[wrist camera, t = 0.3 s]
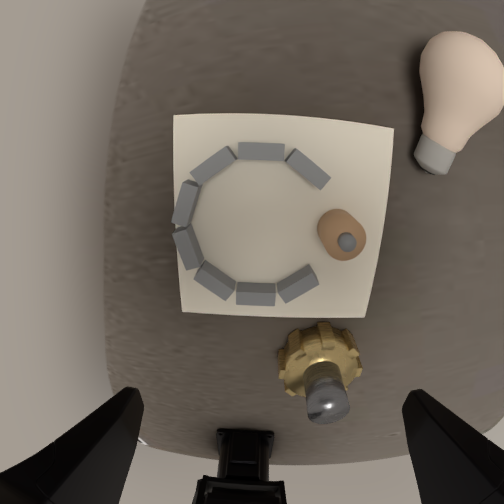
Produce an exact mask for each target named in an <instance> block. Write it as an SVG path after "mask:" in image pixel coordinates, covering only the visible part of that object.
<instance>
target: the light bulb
mask: <svg viewBox="0 0 504 504" xmlns="http://www.w3.org/2000/svg"><path fill="white" fill-rule="evenodd" d="M419 73H420V78H421V84H422V90H423V98H424V116H423V120H422V124H421V128H422V131H423V134H422V135H421V137H420V140H419V142H418V145H417V147H416V149H415V152H414V157H415V158H416V160H417V161H418V163H419V165H420V167H421V168H422V169H423V170H424V171H425V172H426V173H430V174H432V175H435V174H447V172H448V170H449V168H450V166H451V164H452V162H453V160H454V157H455V155H456V152H458V151H461V150H462V149H463V147H464V146H465V144H466V142H467V141H468V139H469V137H471V136H472V135H473V134H474V133H475V132H476V131H478V130H479V129H480V128H481V127H482V126H484V125H485V124H487V123H488V122H489V121H491V120H492V119H493V118H495V117H496V116H497V115H498V114H499V113H500V111H501V109H502V108H503V106H504V67H503V65H502V63H501V61H500V60H499V58H498V56H497V54H496V53H495V52H494V51H493V50H492V49H491V48H490V47H489V46H488V45H487V44H486V43H485V42H484V41H483V40H481V39H479V38H477V37H475V36H472V35H470V34H468V33H465V32H460V31H446V32H441V33H440V34H438V35H436V36H434V37H432V38H431V39H430V40H429V42H428V43H427V45H426V47H425V48H424V50H423V51H422V54H421V59H420V69H419Z"/></svg>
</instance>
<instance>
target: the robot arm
mask: <svg viewBox="0 0 504 504" xmlns="http://www.w3.org/2000/svg"><path fill="white" fill-rule="evenodd" d="M143 411H144V404H143V401H142V398H141V395H140V392H139V390H138V389H137V388H133V387H125V388H123V389H122V390H121V391H120V392H118V393H117V394H116V395H114V396H113V397H112V398H110V399H109V400H108V401H107V402H105V403H104V404H103V405H101V406H100V407H99V408H98V409H96V410H95V411H94V412H92V413H91V414H90V415H88V416H87V417H86V418H85V419H83V420H82V421H80V422H79V423H78V424H76V425H75V426H74V427H72V428H71V429H70V430H68V431H67V432H66V433H64V434H63V435H62V436H60V437H59V438H57V439H56V440H55V441H54V442H52V443H50V444H49V445H48V446H46V447H45V448H43V449H42V450H41V451H39V452H38V453H36V454H35V455H33V456H31V457H29V458H28V459H26V460H24V461H22V462H20V463H18V464H17V465H15V466H13V467H11V468H9V469H7V470H5V471H3V472H1V473H0V504H119V500H120V497H121V494H122V491H123V487H124V484H125V481H126V477H127V474H128V471H129V468H130V465H131V462H132V459H133V456H134V453H135V449H136V446H137V441H138V436H139V431H140V426H141V421H142V416H143ZM402 414H403V419H404V425H405V431H406V438H407V444H408V449H409V453H410V456H411V460H412V464H413V468H414V472H415V476H416V480H417V485H418V489H419V493H420V498H421V503H422V504H504V450H503V449H501V448H500V447H498V446H497V445H496V444H494V443H493V442H492V441H490V440H488V439H487V438H486V437H485V436H483V435H482V434H481V433H479V432H478V431H477V430H475V429H474V428H473V427H471V426H470V425H469V424H467V423H466V422H465V421H463V420H462V419H461V418H459V417H458V416H457V415H455V414H454V413H453V412H452V411H450V410H449V409H448V408H446V407H445V406H444V405H442V404H441V403H440V402H438V401H437V400H436V399H434V398H433V397H432V396H430V395H429V394H428V393H426V392H425V391H424V390H422V389H417V390H412V391H410V393H409V394H408V396H407V398H406V400H405V402H404V404H403V407H402ZM216 435H217V444H218V452H219V464H218V472H217V477H209V476H206V475H203V479H200V480H198V482H197V488H196V492H195V496H194V499H193V502H192V504H287V502H286V494H285V486H284V481H269V458H271V452H272V446H273V441H274V433H273V432H257V431H237V430H223V429H219V430H217V433H216Z"/></svg>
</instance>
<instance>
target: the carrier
mask: <svg viewBox="0 0 504 504" xmlns="http://www.w3.org/2000/svg"><path fill="white" fill-rule="evenodd" d="M393 134H394V129H392V128H387V127H381V126H376V125H370V124H363V123H357V122H350V121H342V120H334V119H325V118H315V117H304V116H291V115H274V114H243V113H218V114H187V115H174V123H173V170H174V206H175V210H174V213H173V217H172V221H171V223H174V224H175V227H176V230H175V231H174V232H173V233H172V236H173V239H174V241H175V244H176V246H177V259H178V272H179V284H180V295H181V305H182V312H193V313H207V314H223V315H241V316H264V317H301V318H362V317H365V314H366V310H367V306H368V302H369V298H370V293H371V289H372V284H373V280H374V275H375V270H376V265H377V260H378V255H379V250H380V244H381V239H382V233H383V227H384V220H385V213H386V206H387V199H388V191H389V182H390V172H391V162H392V149H393Z"/></svg>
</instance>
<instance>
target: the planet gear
mask: <svg viewBox="0 0 504 504" xmlns="http://www.w3.org/2000/svg"><path fill="white" fill-rule="evenodd" d="M288 339H289V341H288V343H287V344H286V346H285V348H284V349H279V351H278V373H279V379H284V385H285V392H287V393H288V394H290V395H291V396H294V395H296V394H297V395H300V396H303V397H306V403H307V411H308V417H309V419H310V420H311V421H312V422H315V423H318V424H328V423H333V422H336V421H338V420H340V419H342V418H343V417H345V416H346V415H347V414H348V412H349V410H350V405H349V402H348V398H347V394H346V390H348V387H347V386H348V385H349V384H350V383H351V382H352V380H353V379H354V377H360V374H361V372H362V369H363V368H362V365H361V362H360V359H359V357H358V356H359V355H360V353H359V351H358V348H357V345H356V343H355V340H354V338H353V335H352V334H351V333H350V332H349V331H348V330H347V329H344V330H343V331H341V330H339V329H336V328H333V327H331V325H330V322H317V327H312V328H308V329H305V330H303V331H300V330H299V329H298V328H297V329H296V330H294V331H293V332H292V333H290V334H289V335H288Z"/></svg>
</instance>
